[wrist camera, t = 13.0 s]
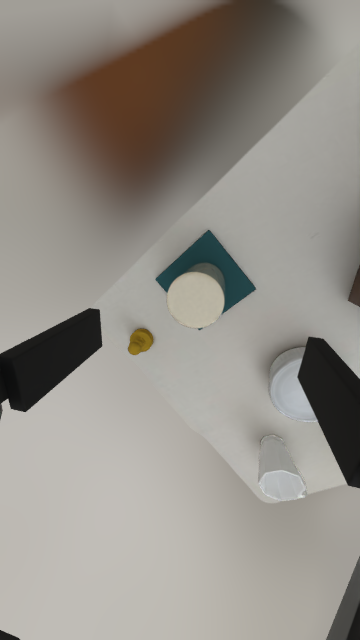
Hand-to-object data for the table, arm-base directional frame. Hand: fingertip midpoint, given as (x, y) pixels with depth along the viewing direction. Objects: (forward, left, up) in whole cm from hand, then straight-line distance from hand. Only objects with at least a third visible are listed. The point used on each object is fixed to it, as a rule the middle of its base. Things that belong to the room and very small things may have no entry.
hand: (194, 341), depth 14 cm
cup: (+31, +15, -22) cm, 41 cm away
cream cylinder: (+1, -2, -22) cm, 22 cm away
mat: (+1, -2, -22) cm, 22 cm away
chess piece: (+12, -12, -22) cm, 28 cm away
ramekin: (+14, +15, -22) cm, 31 cm away
